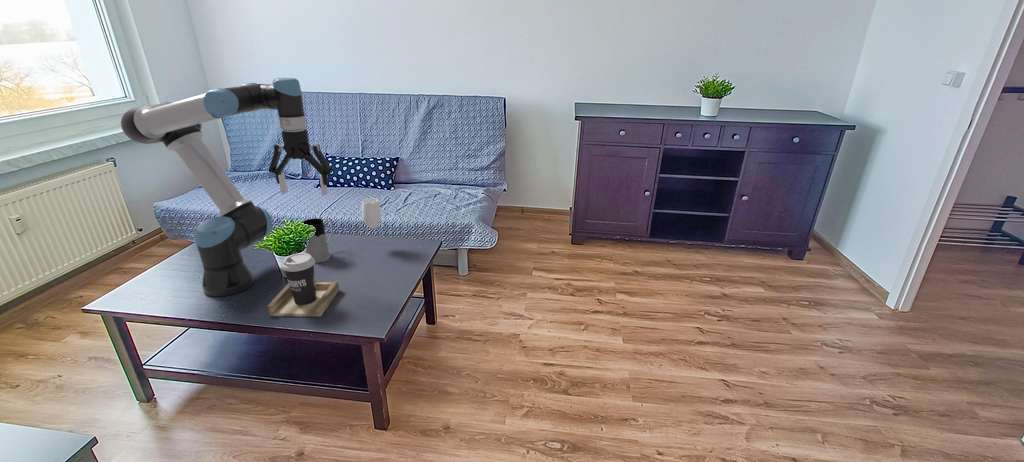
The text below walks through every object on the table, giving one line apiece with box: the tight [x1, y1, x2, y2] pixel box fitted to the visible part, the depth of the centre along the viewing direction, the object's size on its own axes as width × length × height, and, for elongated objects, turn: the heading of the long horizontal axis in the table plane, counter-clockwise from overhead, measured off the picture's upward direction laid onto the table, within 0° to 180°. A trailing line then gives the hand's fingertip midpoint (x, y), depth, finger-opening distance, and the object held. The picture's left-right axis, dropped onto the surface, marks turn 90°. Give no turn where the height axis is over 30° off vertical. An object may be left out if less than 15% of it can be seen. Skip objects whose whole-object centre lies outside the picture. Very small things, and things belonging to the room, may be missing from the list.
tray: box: [266, 280, 340, 318], centre depth 150 cm, size 16×16×4 cm
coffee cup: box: [281, 252, 316, 305], centre depth 147 cm, size 10×10×15 cm
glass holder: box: [301, 217, 334, 264], centre depth 180 cm, size 9×14×15 cm, turn 158°
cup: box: [361, 197, 382, 230], centre depth 184 cm, size 7×7×21 cm
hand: (304, 193), depth 154 cm, fingers open, 13 cm apart
